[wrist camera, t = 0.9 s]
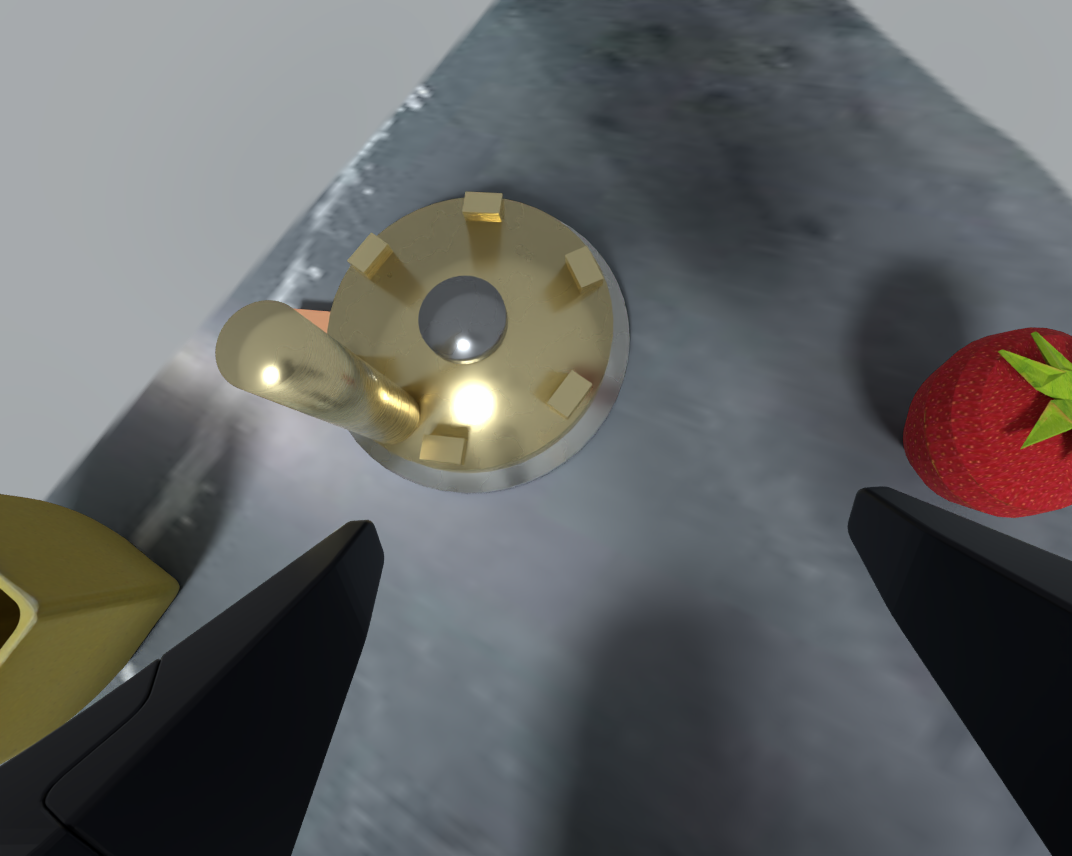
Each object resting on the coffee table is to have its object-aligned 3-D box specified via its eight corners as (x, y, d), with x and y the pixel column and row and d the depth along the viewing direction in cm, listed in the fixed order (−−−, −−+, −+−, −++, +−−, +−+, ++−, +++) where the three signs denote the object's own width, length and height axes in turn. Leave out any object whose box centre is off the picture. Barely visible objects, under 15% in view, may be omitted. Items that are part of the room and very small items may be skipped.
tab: (345, 319, 26) (336, 312, 25) (339, 345, 26) (330, 338, 25) (298, 315, 27) (287, 308, 26) (292, 340, 26) (281, 334, 26)
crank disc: (454, 172, 27) (370, -66, 16) (666, 305, 24) (743, 127, 13) (289, 367, 25) (69, 253, 14) (496, 532, 22) (421, 548, 11)
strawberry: (824, 486, 22) (1017, 463, 13) (873, 355, 23) (1087, 240, 14) (947, 539, 21) (1260, 559, 12) (992, 401, 22) (1315, 312, 13)
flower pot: (233, 576, 24) (37, 610, 15) (128, 723, 23) (-147, 851, 14) (123, 488, 26) (-113, 473, 17) (20, 622, 25) (-288, 682, 16)
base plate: (628, 498, 23) (637, 495, 20) (315, 488, 25) (274, 484, 21) (627, 207, 26) (635, 161, 23) (351, 214, 28) (320, 172, 24)
